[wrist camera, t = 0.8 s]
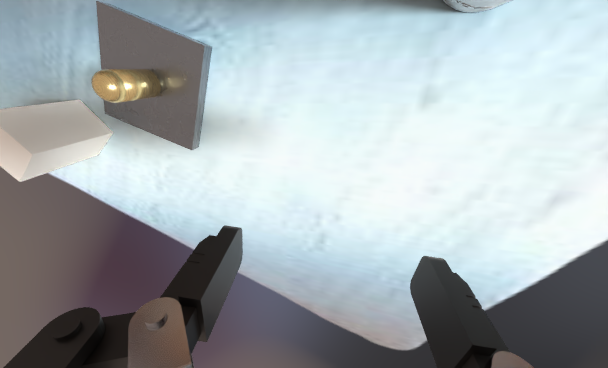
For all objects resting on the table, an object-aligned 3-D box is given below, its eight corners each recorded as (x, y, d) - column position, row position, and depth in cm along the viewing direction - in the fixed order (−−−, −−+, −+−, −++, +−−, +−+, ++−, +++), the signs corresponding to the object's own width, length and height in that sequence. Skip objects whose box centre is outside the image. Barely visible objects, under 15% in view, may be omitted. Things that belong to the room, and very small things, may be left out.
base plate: (108, 4, 27) (21, -19, 20) (212, 46, 27) (160, 39, 20) (114, 111, 33) (49, 124, 26) (198, 146, 33) (155, 168, 26)
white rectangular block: (79, 99, 34) (-19, 111, 25) (113, 132, 35) (32, 154, 26) (66, 125, 36) (-27, 143, 27) (98, 155, 38) (19, 182, 29)
